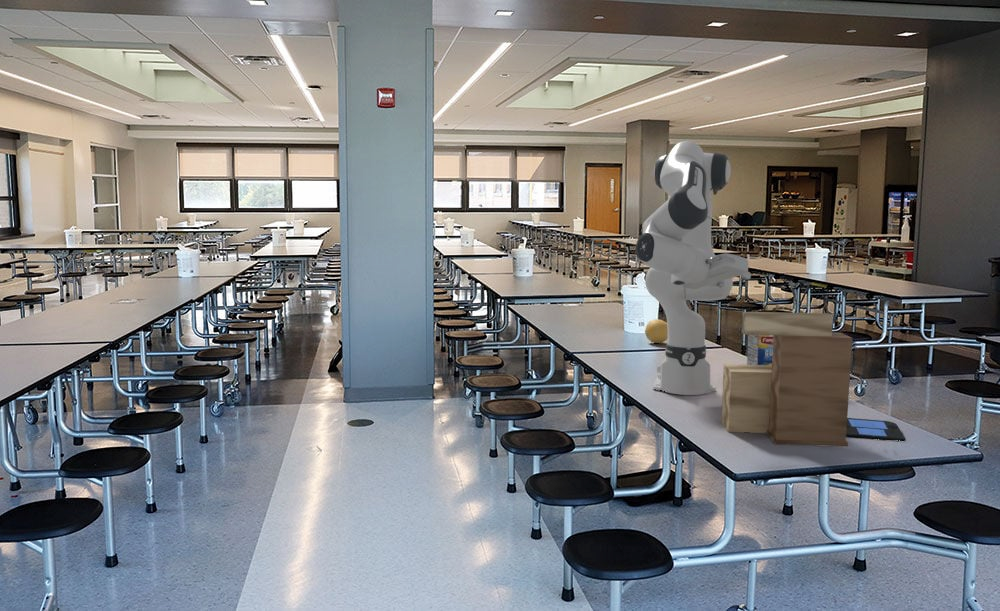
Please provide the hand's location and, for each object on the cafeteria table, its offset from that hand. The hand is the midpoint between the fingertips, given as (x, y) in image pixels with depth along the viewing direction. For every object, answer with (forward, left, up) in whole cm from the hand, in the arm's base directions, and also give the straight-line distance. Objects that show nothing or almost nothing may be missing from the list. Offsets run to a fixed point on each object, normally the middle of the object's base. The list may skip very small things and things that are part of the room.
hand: (735, 280), depth 201 cm
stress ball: (-112, -6, -37) cm, 118 cm away
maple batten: (+16, +9, -11) cm, 22 cm away
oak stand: (+7, +8, -37) cm, 39 cm away
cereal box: (-45, +21, -37) cm, 62 cm away
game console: (+8, +33, -38) cm, 51 cm away
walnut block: (+16, +15, -37) cm, 43 cm away
